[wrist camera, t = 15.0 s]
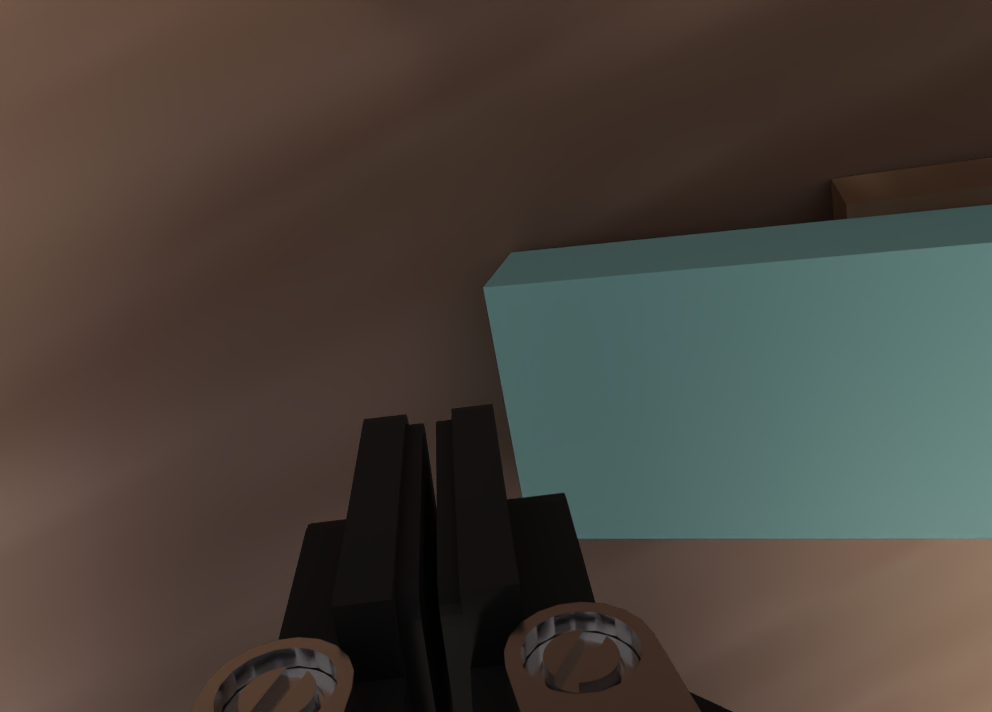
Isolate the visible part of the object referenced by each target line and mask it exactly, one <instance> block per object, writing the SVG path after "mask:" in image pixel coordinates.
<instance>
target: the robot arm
mask: <svg viewBox="0 0 992 712" xmlns="http://www.w3.org/2000/svg"><path fill="white" fill-rule="evenodd" d="M451 412H452V420H447V421H438V422H436V466H437V509H436V502H435V495H434V488H433V481H432V474H431V467H430V460H429V453H428V446H427V439H426V433H425V427H424V424H423V423H422V424H413V425H409V423H408V419H407V416H406V415H397V416H388V417H380V418H371V419H364V422H363V427H362V433H361V439H360V444H359V450H358V456H357V461H356V467H355V473H354V479H353V484H352V490H351V496H350V501H349V507H348V513H347V519H344V520H336V521H328V522H319V523H312V524H309V525H308V527H307V530H306V532H305V536H304V540H303V544H302V548H301V552H300V556H299V560H298V564H297V568H296V572H295V576H294V580H293V584H292V588H291V592H290V596H289V600H288V604H287V608H286V612H285V616H284V620H283V624H282V628H281V632H280V636H279V640H275V641H272V642H269V643H266V644H263V645H260V646H257V647H254V648H252V649H250V650H248V651H246V652H244V653H242V654H240V655H239V656H237V657H235V658H233V659H231V660H230V661H229V662H228V663H227V664H225V665H224V666H223V667H222V668H220V669H219V670H218V671H217V672H216V673H214V675H213V676H212V677H211V679H210V680H209V681H208V683H207V684H206V685H205V687H204V688H203V689H202V691H201V692H200V694H199V696H198V698H197V700H196V702H195V703H194V705H193V707H192V709H191V711H190V712H732V711H730V710H727V709H725V708H723V707H721V706H719V705H717V704H714V703H712V702H710V701H708V700H706V699H704V698H701V697H699V696H697V695H695V694H693V693H691V692H689V691H688V689H687V687H686V686H685V684H684V682H683V681H682V679H681V677H680V676H679V674H678V672H677V671H676V669H675V668H674V666H673V664H672V663H671V661H670V659H669V658H668V656H667V654H666V653H665V651H664V649H663V648H662V646H661V644H660V643H659V641H658V639H657V638H656V636H655V635H654V633H653V632H652V631H651V630H650V628H649V627H648V626H647V625H646V624H645V623H644V622H643V621H642V620H641V619H640V618H638V617H636V616H634V615H633V614H631V613H629V612H628V611H626V610H624V609H621V608H617V607H614V606H610V605H607V604H603V603H595V600H594V596H593V593H592V589H591V585H590V582H589V578H588V575H587V571H586V567H585V564H584V560H583V556H582V553H581V549H580V546H579V542H578V538H577V535H576V531H575V527H574V524H573V520H572V517H571V513H570V509H569V506H568V502H567V499H566V496H565V493H556V494H548V495H540V496H532V497H524V498H515V499H507V497H506V491H505V484H504V478H503V471H502V464H501V458H500V451H499V445H498V438H497V431H496V425H495V418H494V412H493V405H492V404H488V405H480V406H472V407H463V408H455V409H452V410H451Z"/></svg>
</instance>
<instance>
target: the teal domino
mask: <svg viewBox="0 0 992 712" xmlns="http://www.w3.org/2000/svg"><path fill="white" fill-rule="evenodd" d="M483 290H484V295H485V301H486V306H487V311H488V317H489V322H490V327H491V333H492V338H493V343H494V349H495V354H496V359H497V365H498V370H499V375H500V381H501V386H502V391H503V397H504V402H505V407H506V413H507V418H508V423H509V429H510V434H511V439H512V445H513V450H514V455H515V461H516V466H517V471H518V477H519V482H520V487H521V493H522V498H524V497H532V496H540V495H548V494H556V493H565V496H566V499H567V502H568V506H569V509H570V513H571V517H572V520H573V524H574V527H575V531H576V535H577V538H578V539H992V204H991V205H981V206H971V207H961V208H951V209H941V210H931V211H921V212H911V213H901V214H891V215H881V216H871V217H861V218H851V219H841V220H831V221H821V222H811V223H801V224H791V225H781V226H771V227H761V228H751V229H741V230H731V231H721V232H711V233H701V234H691V235H681V236H671V237H661V238H651V239H641V240H631V241H621V242H611V243H601V244H591V245H581V246H571V247H561V248H551V249H541V250H531V251H521V252H511V253H510V254H509V256H508V257H507V258H506V259H505V261H504V262H503V263H502V264H501V266H500V267H499V268H498V269H497V271H496V272H495V273H494V274H493V276H492V277H491V278H490V280H489V281H488V282H487V283H486V285H485V286H484V287H483Z"/></svg>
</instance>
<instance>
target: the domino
mask: <svg viewBox="0 0 992 712" xmlns="http://www.w3.org/2000/svg"><path fill="white" fill-rule="evenodd" d="M831 182H832V201H833V220H841V219H851V218H861V217H871V216H881V215H891V214H901V213H911V212H921V211H931V210H941V209H951V208H961V207H971V206H981V205H991V204H992V157H989V158H981V159H974V160H967V161H959V162H952V163H944V164H937V165H930V166H922V167H915V168H907V169H900V170H893V171H885V172H878V173H870V174H863V175H856V176H848V177H841V178H833V179H831Z"/></svg>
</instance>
